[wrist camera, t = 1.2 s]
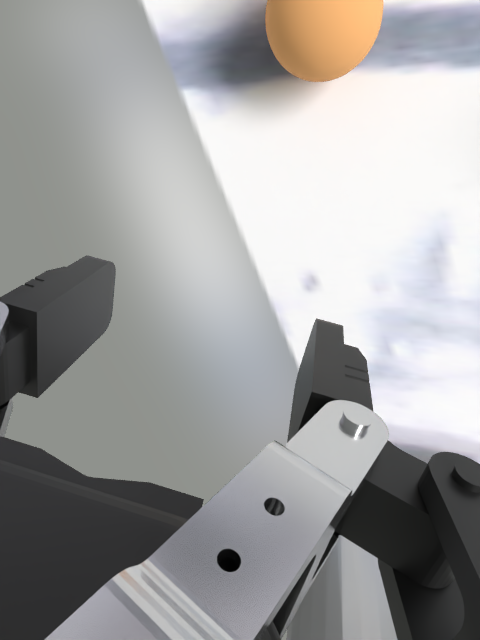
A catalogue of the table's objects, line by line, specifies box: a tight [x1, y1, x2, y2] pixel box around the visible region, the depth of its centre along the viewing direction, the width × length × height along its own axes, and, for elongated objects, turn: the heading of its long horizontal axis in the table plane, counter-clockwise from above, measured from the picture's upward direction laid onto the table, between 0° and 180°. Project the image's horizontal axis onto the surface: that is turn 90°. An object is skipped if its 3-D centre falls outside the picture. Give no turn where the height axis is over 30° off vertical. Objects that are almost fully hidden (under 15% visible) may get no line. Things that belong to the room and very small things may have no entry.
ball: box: [265, 0, 383, 82], centre depth 21 cm, size 6×6×6 cm
